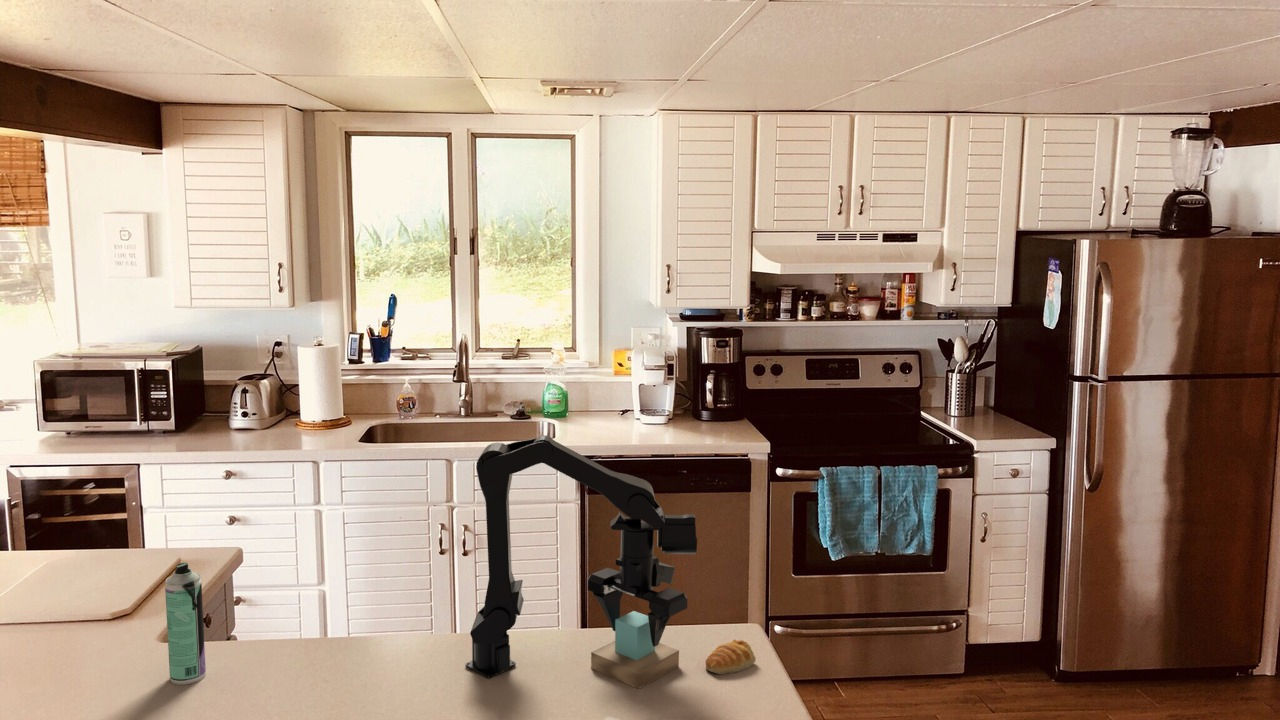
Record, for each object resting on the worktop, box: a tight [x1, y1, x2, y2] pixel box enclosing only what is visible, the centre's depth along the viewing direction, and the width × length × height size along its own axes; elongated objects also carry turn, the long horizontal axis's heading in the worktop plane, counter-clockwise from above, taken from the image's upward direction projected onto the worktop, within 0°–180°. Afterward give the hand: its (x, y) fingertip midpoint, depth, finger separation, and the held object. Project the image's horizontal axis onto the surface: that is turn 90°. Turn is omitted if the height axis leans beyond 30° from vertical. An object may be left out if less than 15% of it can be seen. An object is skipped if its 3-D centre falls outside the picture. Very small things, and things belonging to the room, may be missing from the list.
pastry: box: [705, 639, 757, 675], centre depth 164 cm, size 9×7×4 cm
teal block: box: [614, 610, 655, 660], centre depth 162 cm, size 5×5×6 cm
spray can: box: [164, 562, 207, 686], centre depth 156 cm, size 6×6×20 cm
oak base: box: [590, 640, 680, 690], centre depth 163 cm, size 11×11×3 cm
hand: (635, 637), depth 162 cm, fingers open, 9 cm apart
